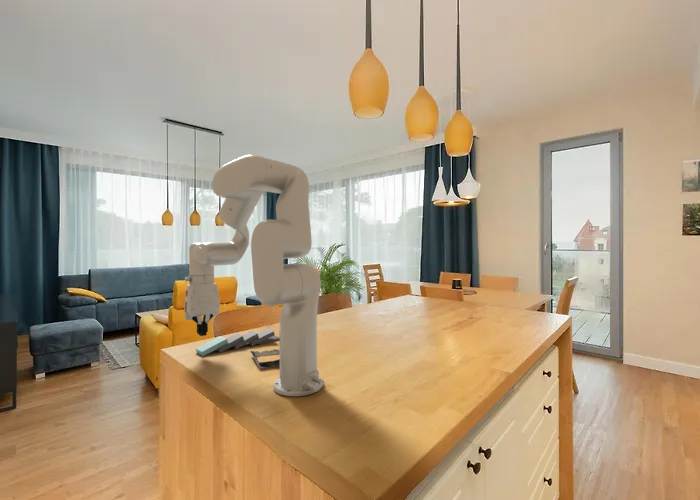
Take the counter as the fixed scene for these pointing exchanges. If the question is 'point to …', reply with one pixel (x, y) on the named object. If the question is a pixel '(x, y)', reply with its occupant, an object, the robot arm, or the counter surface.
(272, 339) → the domino
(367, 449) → the counter surface
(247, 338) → the domino
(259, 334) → the domino
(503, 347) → the counter surface
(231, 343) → the domino
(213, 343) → the teal domino
